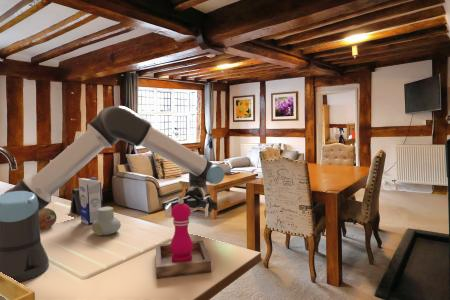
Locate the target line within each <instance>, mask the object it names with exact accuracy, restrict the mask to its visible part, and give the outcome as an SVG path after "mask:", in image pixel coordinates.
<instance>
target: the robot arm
mask: <svg viewBox="0 0 450 300" xmlns="http://www.w3.org/2000/svg"><path fill="white" fill-rule="evenodd" d="M86 127H87V128H86V131H85V132H84V133H82V134H81V135H80V136H79V137H78V138H76V139H75V140H74V141H73V142H72V143H71V144H69V146H67V147H66V148H65V149H64V150H63V151H62V152H60V153H59V154H58V155H57V156H55V158H53V159H52V160H51V161H50V162H49V163H47V164H46V165H45V166H44V167H43V168H41V169H40V170H39V171H38V172H37V173H36V174H34V175H33V176H32V177H30V178H26V177H24V178H23V179H21V180H20V181H19V182H18V183H16V185H14V186H13V187H12V188H9V189H8V190H6V191H4V193H2V194H0V272H2V273H3V274H5V275H7V276H9V277H11V278H13V279H14V280H16V281H18V282H17V283H20V282H21V283H22V282H25V281H27V280H28V281H29V280H31V279H33V278H36V277H38V276H39V275H42V274H43V273H45V271H47V270H48V269H49V266H50V263H49V262H50V259H49V257H48V254H47V252H46V249H45V248H44V246H43V244H42V241H41V230H40V225H39V212H40V211H41V210H43V209H44V208H47V206H48V205H50V203H51V202H52V195H53V194H55V192H57V191H58V190H59V189H60V188H61V187H63V186H64V185H65V184H66V183H67V182H68V181H69V180H70V179H71V178H73V176H75V175H76V174H77V173H78V172H79V171H80V170H81V169H83V167H85V166H86V165H87V164H88V163H89V162H90V161H91V160H92V159H94V158H95V157H96V156H97V155H98V154H99V153H100V152H101V151H103V150H104V149H106V148H112V147H113V146H114V145H116V143H118V142H119V141H120V140H121V141H123V142H127V143H130V144H131V145H133V146H134V147H140V146H141V147H143V148H145V149H147V150H149V151H150V152H153V153H154V154H156V155H158V156H159V157H162V158H163V159H165V160H167V161H169V162H171V163H172V164H174V165H176V166H177V167H180V168H182V169H183V170H185V171H187V172H188V189H187V191H186V192H185V194H184V196H183V197H181V198H179V196H175V197H174V198H171V199H168V200H166V201H164V202H162V203H161V206H162V207H161V209H162V210H164V215H165V218H166V217H169V216H170V214H171V210H172V208H173V206H174V205H176V204H179V203H178V200H179V199H183V201H184V204H187V205H188V206H189V207H190V209H196V208H199V209H200V208H202V209H204V218H207V217H208V215H209V213H212V211H213V210H214V211H218V202H216V201H215V200H213V199H212V198H211V197H210V196H207V197H205V196H206V195H207V193H208V185H207V183H208V184H211V185H212V184H213V185H219V184H220V183H222V182H223V181H224V178H225V174H226V173H225V170H224V168H223V167H222V166H221V165H219V164H216V163H213V162H212V161H210V160H209V159H207V157H206V156H205V154H204V155H203V154H198V153H197V152H195V151H193V150H191V149H190V148H188V147H186V146H185V145H183V144H181V143H180V142H179V141H176V140H175V139H173V138H171V137H170V136H169V135H166V134H164V133H163V132H161V131H160V130H159V129H156V128H155V127H153V125H152V123H151V121H148V120H146V119H145V118H144V117H142V116H141V115H139V114H138V113H136V112H135V111H134V110H133V109H131V108H130V107H129V108H128V107H126V106H123V105H116V106H113V105H112V106H108V107H105V108H103V109H101V110H100V111H99V113H97V115H96V117H94V118H93V119H92V120H91V121H90V122H88V123H87V126H86Z"/></svg>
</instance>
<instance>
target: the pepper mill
mask: <svg viewBox="0 0 450 300" xmlns="http://www.w3.org/2000/svg"><path fill="white" fill-rule="evenodd" d="M178 203H179V204H176V205H174V206H173V208H172V210H171V212H170V214H171V217H172V218H173V220H172V224H173V226H174V234H173V237H172V239H171V242H170V243H171V244H170V251H171V252H172V253H173V255H172V262H173V263H177V262H186V261H192V254H191V252H192V250H193V243H192V241H193V240H192V238H191V236H190V234H189V229H188V227H189V226H188V225H189V224H190V218H189V217H190V216H191V208H190V207H189V206H188V205H187V204H184V201H183V199H181V198H179V200H178Z"/></svg>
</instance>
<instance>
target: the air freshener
mask: <svg viewBox="0 0 450 300" xmlns="http://www.w3.org/2000/svg"><path fill="white" fill-rule="evenodd" d="M114 213H115V212H114V207H112V206H103V207H102V208H99V209H98V219H97V220H96V221H94V222H93V224H92V225H91V231H92V232H93V233H94V234H96V235H99V236H101V235H102V236H103V235H104V236H110V235H112V234H115V233H117V231H119V230H120V229H121V227H122V226H121V225H122V223H121V220H120V219H118V218H117V217H115V214H114ZM102 236H101V237H102ZM104 236H103V237H104Z"/></svg>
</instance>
